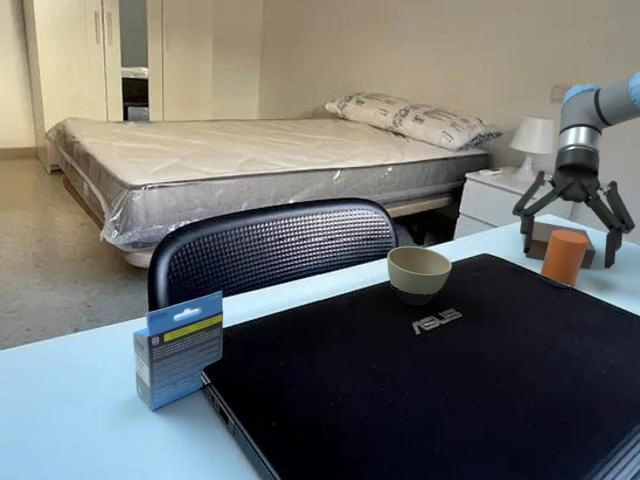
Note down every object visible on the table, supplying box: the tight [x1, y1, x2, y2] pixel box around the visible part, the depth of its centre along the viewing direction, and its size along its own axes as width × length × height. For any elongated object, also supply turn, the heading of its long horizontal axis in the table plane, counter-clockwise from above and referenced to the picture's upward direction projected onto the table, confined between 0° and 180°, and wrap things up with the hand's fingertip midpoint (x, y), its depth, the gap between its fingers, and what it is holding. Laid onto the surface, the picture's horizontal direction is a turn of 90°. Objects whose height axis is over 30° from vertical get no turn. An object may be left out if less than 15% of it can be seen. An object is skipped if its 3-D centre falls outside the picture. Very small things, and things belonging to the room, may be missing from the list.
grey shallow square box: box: [522, 220, 596, 270], centre depth 104 cm, size 12×12×4 cm
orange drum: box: [539, 230, 589, 288], centre depth 90 cm, size 6×6×9 cm
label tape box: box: [132, 290, 224, 411], centre depth 55 cm, size 9×4×12 cm, turn 133°
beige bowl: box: [386, 245, 453, 295], centre depth 80 cm, size 10×10×7 cm
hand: (567, 258), depth 88 cm, fingers open, 13 cm apart
